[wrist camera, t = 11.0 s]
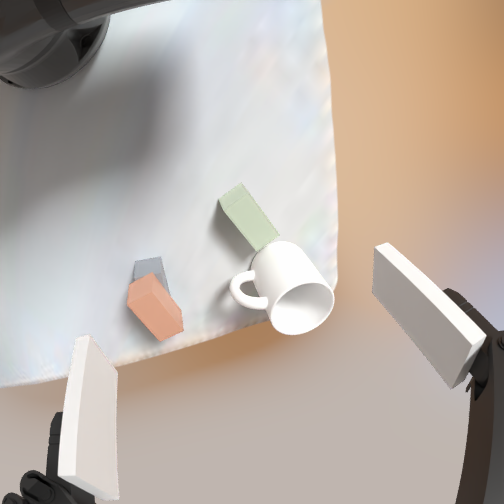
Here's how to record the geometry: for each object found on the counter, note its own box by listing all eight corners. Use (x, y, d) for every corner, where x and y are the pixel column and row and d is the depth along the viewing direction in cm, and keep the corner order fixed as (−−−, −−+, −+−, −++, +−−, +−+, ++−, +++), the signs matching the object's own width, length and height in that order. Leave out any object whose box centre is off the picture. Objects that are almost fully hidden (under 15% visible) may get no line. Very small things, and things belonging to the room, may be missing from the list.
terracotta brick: (129, 284, 37) (126, 304, 34) (152, 271, 37) (152, 291, 34) (159, 320, 41) (160, 341, 38) (181, 310, 41) (183, 330, 38)
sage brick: (218, 198, 39) (223, 210, 36) (241, 181, 39) (248, 192, 35) (248, 237, 43) (256, 251, 40) (270, 221, 43) (279, 235, 39)
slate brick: (135, 260, 40) (133, 277, 37) (160, 256, 41) (161, 272, 38) (147, 302, 44) (147, 320, 41) (171, 297, 45) (172, 316, 41)
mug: (221, 292, 46) (236, 342, 37) (224, 241, 42) (241, 286, 33) (298, 286, 49) (326, 330, 41) (307, 238, 45) (341, 278, 37)
